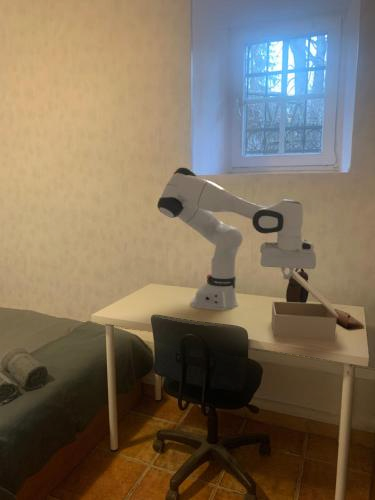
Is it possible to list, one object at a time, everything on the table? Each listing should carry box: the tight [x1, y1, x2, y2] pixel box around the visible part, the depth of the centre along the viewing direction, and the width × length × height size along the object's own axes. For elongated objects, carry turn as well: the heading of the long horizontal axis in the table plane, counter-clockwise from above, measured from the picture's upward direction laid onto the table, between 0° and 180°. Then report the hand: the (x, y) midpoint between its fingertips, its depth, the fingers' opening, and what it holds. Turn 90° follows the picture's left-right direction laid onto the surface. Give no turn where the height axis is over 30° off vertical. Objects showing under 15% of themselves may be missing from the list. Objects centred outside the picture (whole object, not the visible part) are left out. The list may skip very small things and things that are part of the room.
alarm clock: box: [285, 268, 310, 303], centre depth 176 cm, size 14×7×20 cm, turn 144°
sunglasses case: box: [333, 307, 365, 330], centre depth 161 cm, size 18×7×7 cm
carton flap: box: [290, 270, 338, 318], centre depth 146 cm, size 22×16×1 cm
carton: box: [271, 300, 337, 342], centre depth 149 cm, size 22×16×10 cm
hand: (286, 278), depth 145 cm, fingers closed
